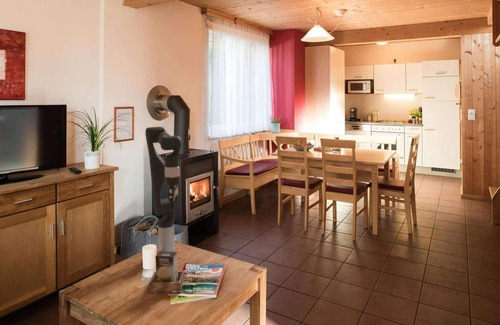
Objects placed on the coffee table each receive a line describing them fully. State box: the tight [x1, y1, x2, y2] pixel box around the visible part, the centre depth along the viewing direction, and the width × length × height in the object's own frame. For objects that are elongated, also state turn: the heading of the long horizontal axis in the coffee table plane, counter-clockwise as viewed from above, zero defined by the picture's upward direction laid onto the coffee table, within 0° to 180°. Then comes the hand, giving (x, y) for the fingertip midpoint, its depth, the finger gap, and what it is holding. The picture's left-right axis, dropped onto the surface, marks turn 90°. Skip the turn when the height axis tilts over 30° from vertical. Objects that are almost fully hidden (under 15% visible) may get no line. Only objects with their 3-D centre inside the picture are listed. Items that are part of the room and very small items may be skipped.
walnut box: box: [148, 270, 186, 294], centre depth 180 cm, size 15×12×5 cm
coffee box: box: [155, 251, 179, 282], centre depth 179 cm, size 9×6×16 cm
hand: (173, 205), depth 191 cm, fingers open, 8 cm apart
